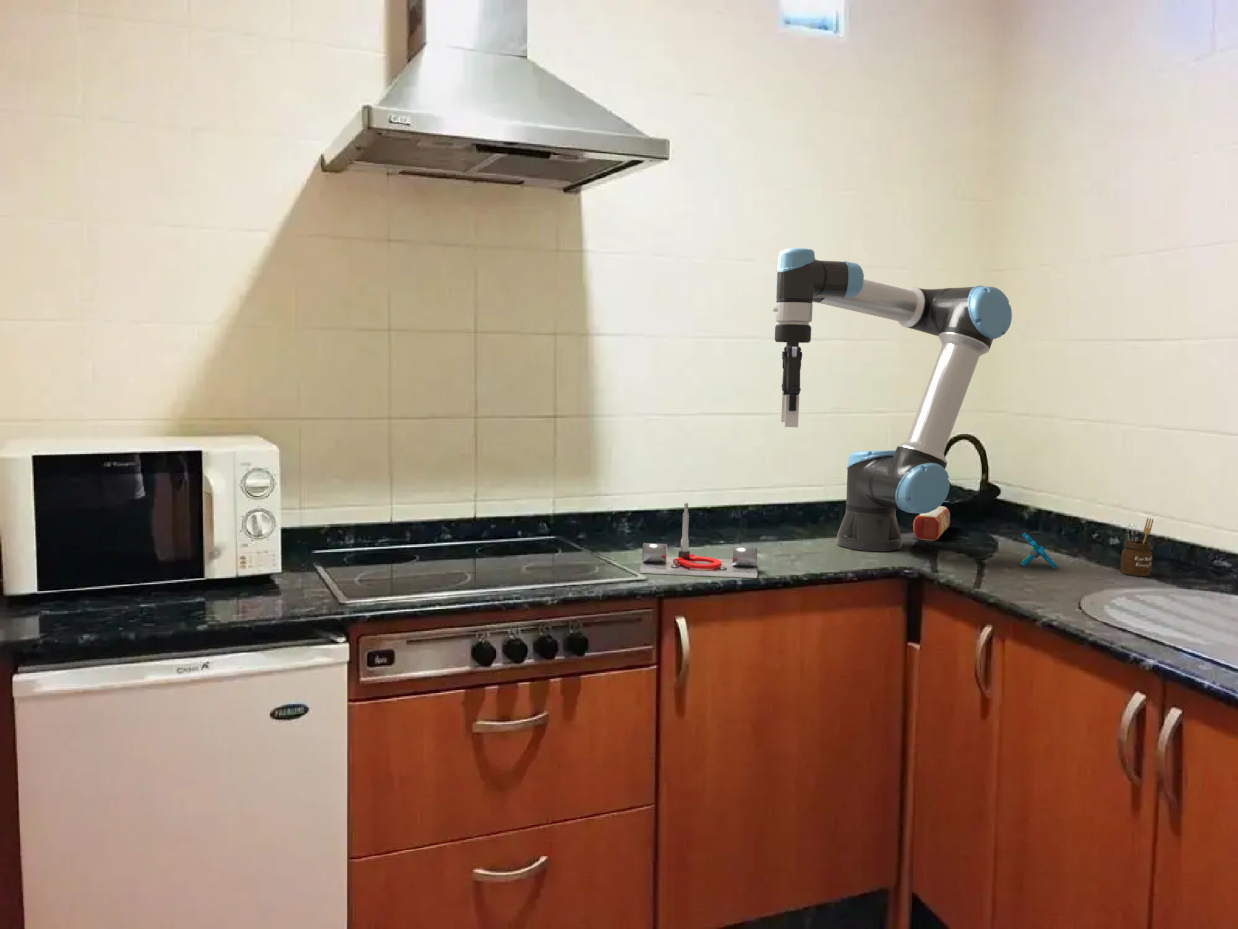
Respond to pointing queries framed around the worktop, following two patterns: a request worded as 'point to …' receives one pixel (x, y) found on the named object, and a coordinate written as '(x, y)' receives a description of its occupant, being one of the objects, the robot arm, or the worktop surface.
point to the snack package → (931, 524)
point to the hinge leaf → (662, 564)
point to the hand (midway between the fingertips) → (789, 424)
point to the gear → (1036, 552)
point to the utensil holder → (1137, 555)
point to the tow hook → (685, 554)
